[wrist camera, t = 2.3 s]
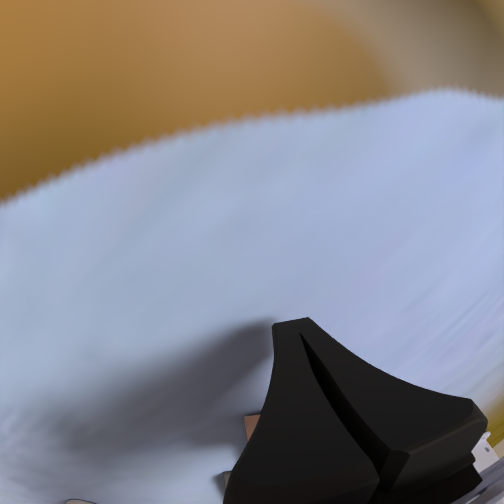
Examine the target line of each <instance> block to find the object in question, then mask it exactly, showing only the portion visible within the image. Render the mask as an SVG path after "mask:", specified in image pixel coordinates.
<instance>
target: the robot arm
mask: <svg viewBox="0 0 504 504" xmlns="http://www.w3.org/2000/svg"><path fill="white" fill-rule="evenodd" d="M272 336H273V348H274V362H273V369H272V375H271V380H270V385H269V389H268V393H267V396H266V399H265V403H264V406H263V408H262V411H261V414H260V417H259V419H258V422H257V424H256V427H255V429H254V431H253V433H252V435H251V437H250V439H249V441H248V443H247V445H246V447H245V449H244V451H243V453H242V454H241V456H240V458H239V459H238V461H237V463H236V464H235V466H234V467H233V469H232V471H231V473H230V477H229V480H228V484H227V487H226V491H225V495H224V500H223V504H504V456H503V457H502V458H500V459H499V458H498V456H497V455H496V454H495V452H494V451H493V449H492V448H491V446H490V445H489V444H488V442H487V441H486V439H487V438H488V437H489V436H490V434H491V433H490V432H485V431H486V428H487V424H488V420H487V418H486V417H485V416H484V414H483V413H482V412H481V410H480V409H479V408H478V407H477V405H476V404H475V403H474V402H473V401H472V400H471V399H468V398H463V397H457V396H452V395H447V394H442V393H439V392H435V391H432V390H428V389H425V388H422V387H419V386H416V385H413V384H411V383H408V382H406V381H403V380H401V379H398V378H396V377H394V376H392V375H389V374H387V373H386V372H384V371H382V370H380V369H378V368H376V367H374V366H372V365H371V364H369V363H367V362H366V361H364V360H363V359H361V358H359V357H358V356H356V355H355V354H354V353H352V352H351V351H349V350H348V349H347V348H345V347H344V346H343V345H341V344H340V343H339V342H337V341H336V340H335V339H334V338H332V337H331V336H330V335H329V334H328V333H326V332H325V331H324V330H323V329H322V328H321V327H319V326H318V325H317V324H316V323H315V322H314V321H313V320H311V319H310V318H309V317H306V318H301V319H296V320H290V321H285V322H279V323H274V324H273V326H272ZM484 432H485V433H484Z"/></svg>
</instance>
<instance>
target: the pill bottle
mask: <svg viewBox="0 0 504 504" xmlns="http://www.w3.org/2000/svg"><path fill="white" fill-rule="evenodd" d="M66 504H94V503H90V502H86V501H82V500H69V501H67V503H66Z"/></svg>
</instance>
